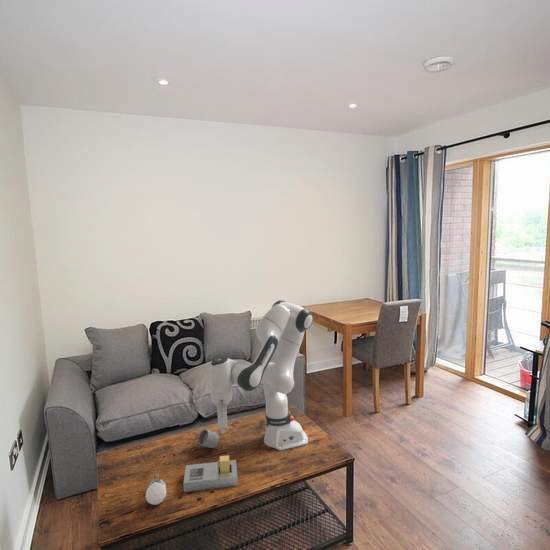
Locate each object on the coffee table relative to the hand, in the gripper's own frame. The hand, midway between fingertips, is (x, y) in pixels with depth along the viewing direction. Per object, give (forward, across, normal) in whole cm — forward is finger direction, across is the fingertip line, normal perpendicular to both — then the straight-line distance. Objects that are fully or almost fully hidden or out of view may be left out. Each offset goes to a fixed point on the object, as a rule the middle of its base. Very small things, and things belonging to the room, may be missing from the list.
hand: (223, 426), depth 160 cm
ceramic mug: (+23, +26, +8) cm, 36 cm away
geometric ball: (+23, -11, +27) cm, 37 cm away
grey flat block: (+23, 0, +6) cm, 24 cm away
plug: (+23, 0, 0) cm, 23 cm away
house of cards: (+23, -5, +29) cm, 38 cm away
